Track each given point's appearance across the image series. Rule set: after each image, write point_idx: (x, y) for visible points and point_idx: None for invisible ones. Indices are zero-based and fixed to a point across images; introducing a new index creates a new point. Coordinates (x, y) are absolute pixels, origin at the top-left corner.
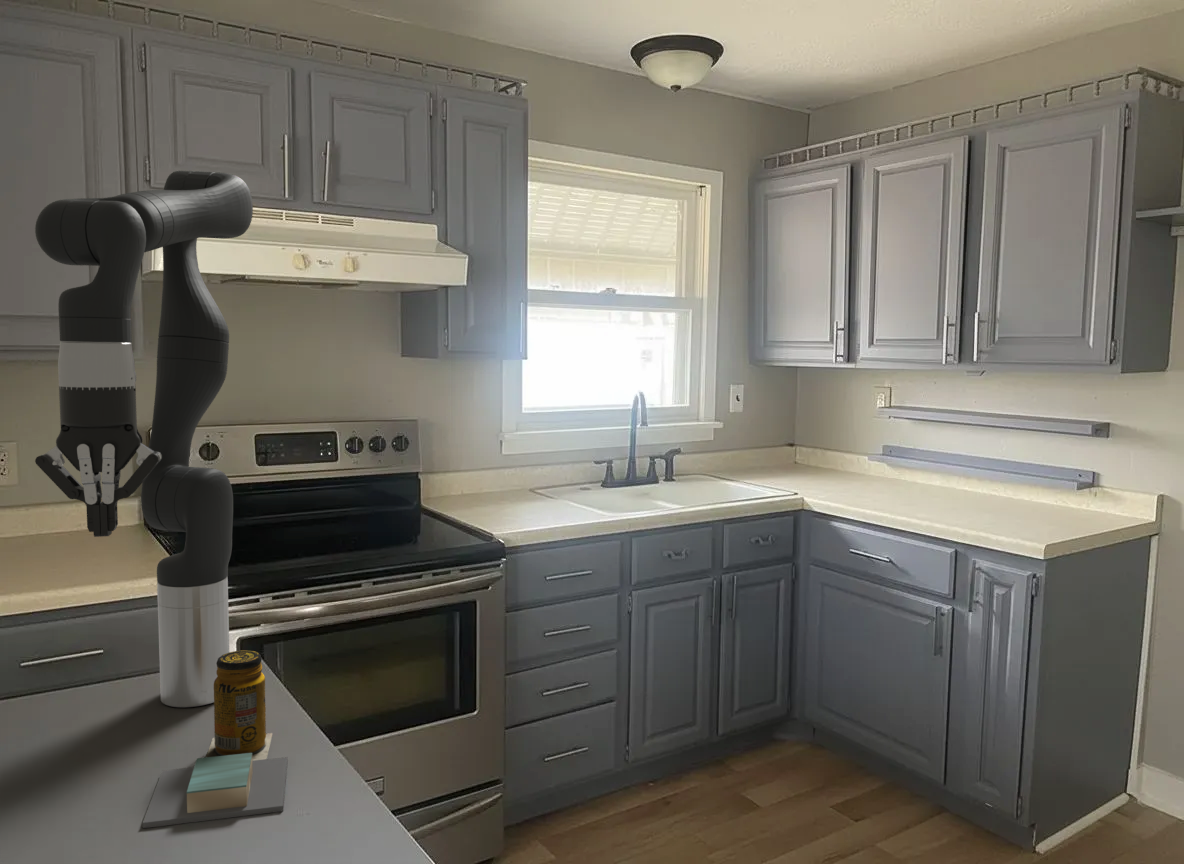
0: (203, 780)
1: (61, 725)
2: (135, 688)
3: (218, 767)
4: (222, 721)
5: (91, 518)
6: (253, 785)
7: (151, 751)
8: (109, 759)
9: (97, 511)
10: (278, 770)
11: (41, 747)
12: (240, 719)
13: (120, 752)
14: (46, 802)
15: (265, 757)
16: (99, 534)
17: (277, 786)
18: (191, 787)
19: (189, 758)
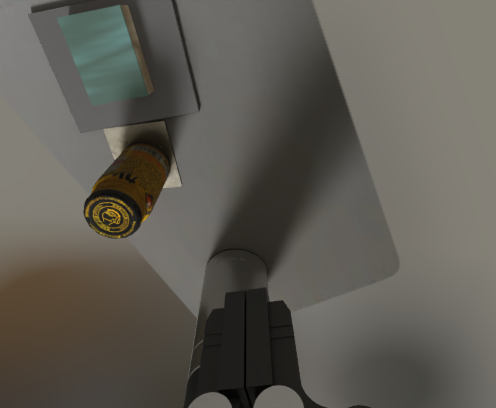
0: (113, 34)
1: (339, 222)
2: (298, 289)
3: (112, 69)
4: (143, 160)
5: (279, 340)
6: None
7: (232, 163)
8: (267, 149)
9: (253, 360)
10: (74, 101)
11: (342, 179)
12: (121, 159)
13: (262, 163)
14: (295, 58)
15: (109, 140)
16: (248, 290)
17: (57, 63)
18: (119, 17)
19: (188, 146)
